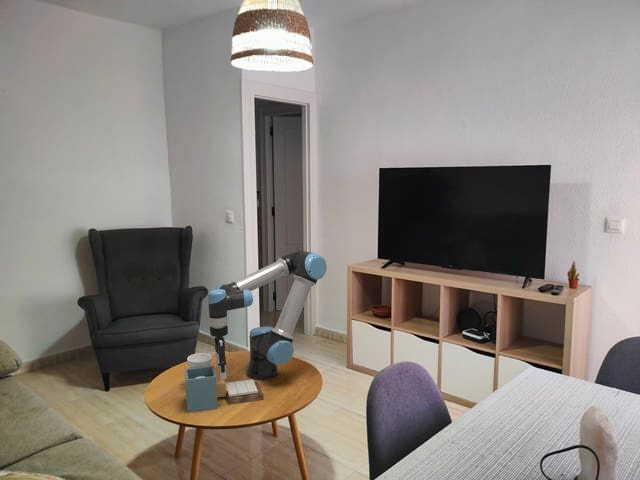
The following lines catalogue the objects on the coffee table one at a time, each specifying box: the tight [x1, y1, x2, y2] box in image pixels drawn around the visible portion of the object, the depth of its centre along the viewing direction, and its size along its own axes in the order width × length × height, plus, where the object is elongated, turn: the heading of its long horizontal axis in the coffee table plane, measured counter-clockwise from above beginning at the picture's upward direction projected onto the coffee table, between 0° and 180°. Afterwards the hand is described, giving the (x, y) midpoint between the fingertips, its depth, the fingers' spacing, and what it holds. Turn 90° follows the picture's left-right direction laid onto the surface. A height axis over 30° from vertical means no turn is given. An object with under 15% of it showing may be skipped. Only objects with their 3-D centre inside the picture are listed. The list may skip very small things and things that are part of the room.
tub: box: [184, 365, 218, 414], centre depth 210 cm, size 12×12×14 cm
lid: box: [216, 379, 258, 398], centre depth 218 cm, size 17×12×6 cm
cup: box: [186, 352, 213, 369], centre depth 227 cm, size 11×11×14 cm
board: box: [225, 381, 265, 406], centre depth 219 cm, size 15×14×2 cm
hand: (221, 372), depth 215 cm, fingers open, 13 cm apart
